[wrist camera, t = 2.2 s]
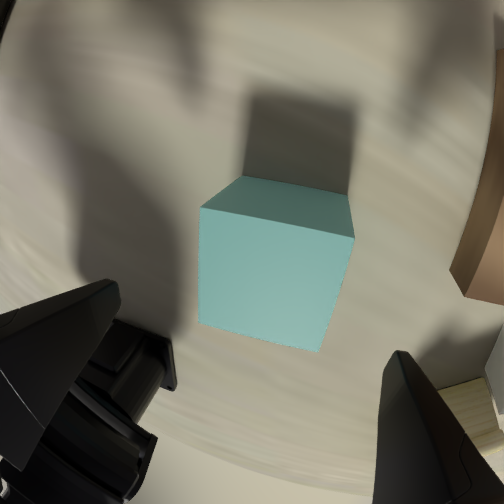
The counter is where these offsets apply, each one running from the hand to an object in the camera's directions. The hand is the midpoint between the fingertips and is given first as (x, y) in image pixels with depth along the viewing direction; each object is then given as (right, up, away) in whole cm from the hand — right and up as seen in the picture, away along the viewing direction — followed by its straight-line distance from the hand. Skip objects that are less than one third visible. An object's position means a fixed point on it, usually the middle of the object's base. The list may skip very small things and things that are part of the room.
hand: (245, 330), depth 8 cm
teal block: (+2, +3, +6) cm, 7 cm away
